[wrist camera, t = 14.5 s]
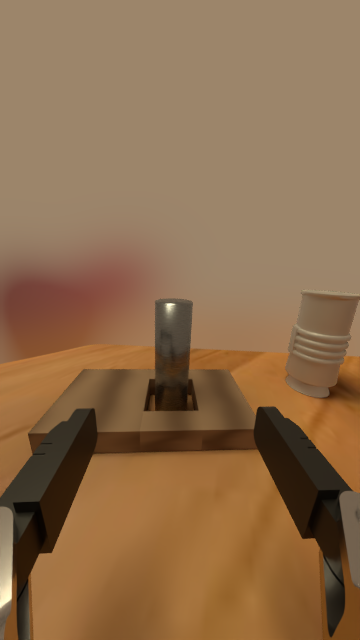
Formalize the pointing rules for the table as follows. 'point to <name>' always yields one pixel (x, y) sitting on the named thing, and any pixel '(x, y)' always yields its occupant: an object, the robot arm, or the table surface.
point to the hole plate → (154, 413)
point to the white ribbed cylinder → (320, 340)
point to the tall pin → (172, 353)
